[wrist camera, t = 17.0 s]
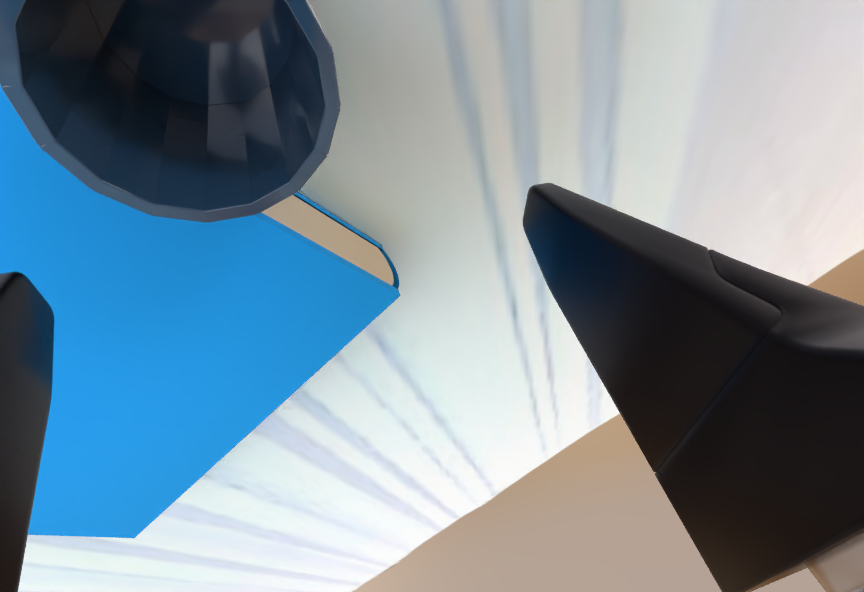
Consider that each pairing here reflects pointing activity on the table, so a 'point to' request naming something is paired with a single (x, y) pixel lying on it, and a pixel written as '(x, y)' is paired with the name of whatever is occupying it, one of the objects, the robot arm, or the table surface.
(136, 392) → the book
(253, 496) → the table surface
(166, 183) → the cup
